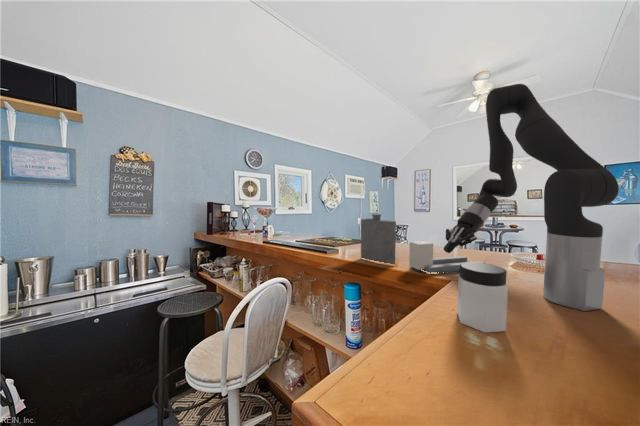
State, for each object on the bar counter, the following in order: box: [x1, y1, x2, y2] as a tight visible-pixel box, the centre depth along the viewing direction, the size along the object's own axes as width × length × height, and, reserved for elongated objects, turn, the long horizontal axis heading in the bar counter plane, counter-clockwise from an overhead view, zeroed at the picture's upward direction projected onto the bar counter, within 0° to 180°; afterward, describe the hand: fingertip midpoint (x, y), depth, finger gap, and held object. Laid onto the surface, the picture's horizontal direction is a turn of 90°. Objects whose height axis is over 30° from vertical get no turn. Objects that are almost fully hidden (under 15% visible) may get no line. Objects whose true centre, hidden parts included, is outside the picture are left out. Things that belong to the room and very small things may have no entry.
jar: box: [456, 261, 509, 333], centre depth 49 cm, size 9×8×12 cm
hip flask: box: [360, 213, 397, 265], centre depth 94 cm, size 16×4×20 cm, turn 42°
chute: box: [422, 255, 486, 274], centre depth 86 cm, size 10×24×2 cm, turn 103°
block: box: [408, 240, 434, 271], centre depth 83 cm, size 5×6×9 cm
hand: (446, 251), depth 86 cm, fingers closed
